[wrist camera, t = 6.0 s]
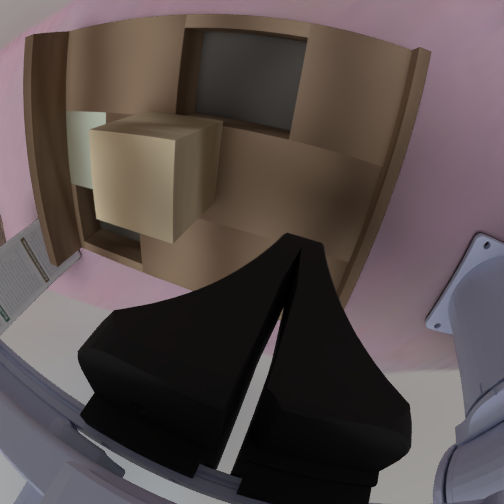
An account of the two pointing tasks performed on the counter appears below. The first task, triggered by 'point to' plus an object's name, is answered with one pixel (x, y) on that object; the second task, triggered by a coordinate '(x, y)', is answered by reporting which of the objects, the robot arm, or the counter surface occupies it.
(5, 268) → the syrup box
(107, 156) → the maple block
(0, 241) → the brick
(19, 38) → the counter surface
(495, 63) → the counter surface
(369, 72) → the trap board
